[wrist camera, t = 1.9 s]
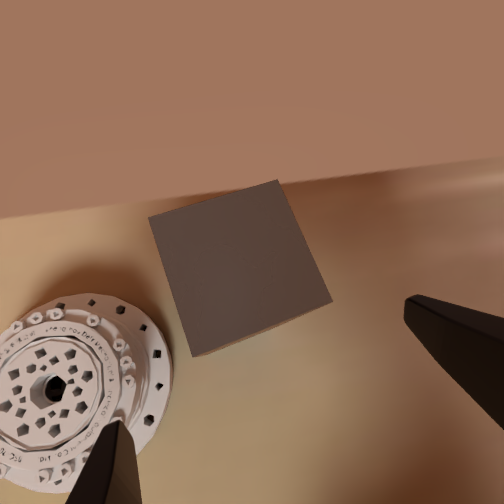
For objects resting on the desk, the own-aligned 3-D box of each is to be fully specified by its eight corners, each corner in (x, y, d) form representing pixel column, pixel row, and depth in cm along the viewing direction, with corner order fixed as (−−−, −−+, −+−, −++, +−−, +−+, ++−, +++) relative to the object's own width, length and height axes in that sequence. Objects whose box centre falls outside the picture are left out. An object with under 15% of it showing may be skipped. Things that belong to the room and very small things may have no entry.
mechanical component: (148, 275, 21) (-20, 329, 19) (131, 256, 16) (-88, 322, 14) (194, 435, 18) (6, 517, 16) (187, 460, 14) (-68, 575, 12)
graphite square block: (273, 328, 20) (332, 301, 10) (206, 355, 19) (192, 357, 9) (248, 264, 21) (277, 179, 11) (183, 287, 20) (147, 217, 10)
